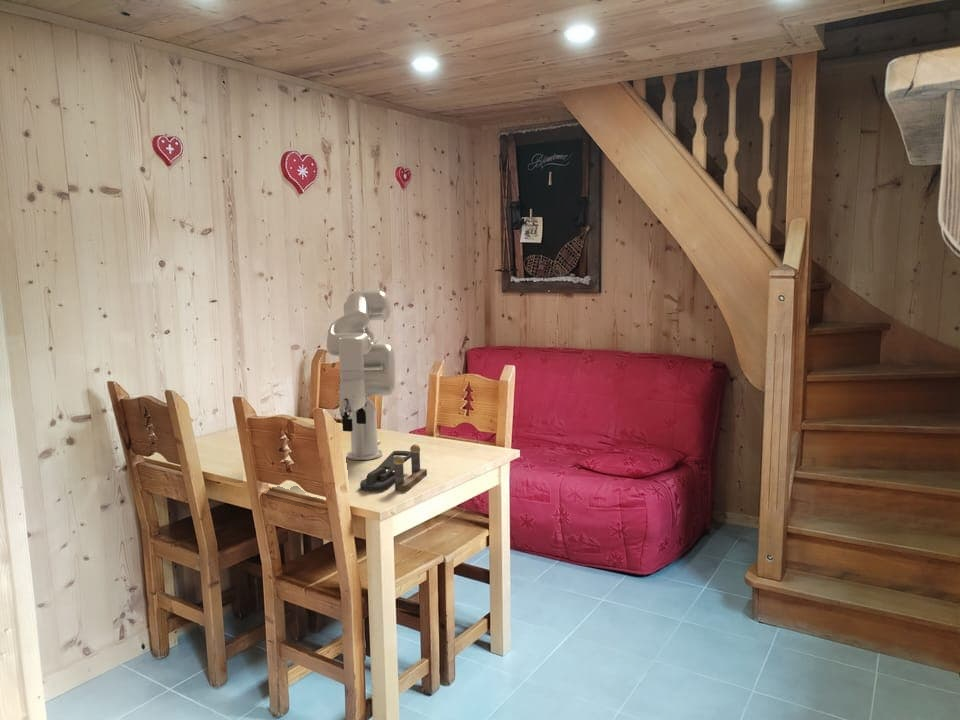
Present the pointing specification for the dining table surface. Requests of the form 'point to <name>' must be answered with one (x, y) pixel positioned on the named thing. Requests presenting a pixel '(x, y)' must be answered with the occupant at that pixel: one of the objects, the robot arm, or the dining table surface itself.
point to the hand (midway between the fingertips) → (354, 427)
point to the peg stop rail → (416, 474)
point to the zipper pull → (383, 474)
